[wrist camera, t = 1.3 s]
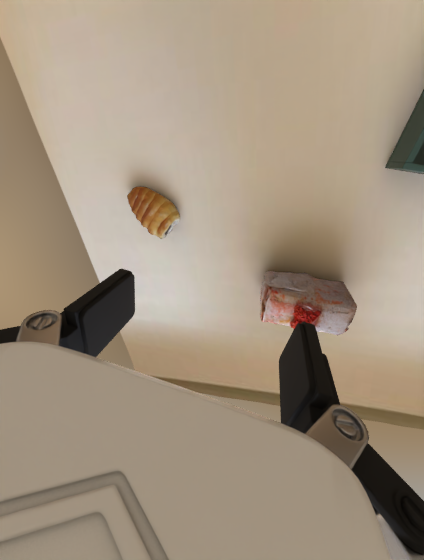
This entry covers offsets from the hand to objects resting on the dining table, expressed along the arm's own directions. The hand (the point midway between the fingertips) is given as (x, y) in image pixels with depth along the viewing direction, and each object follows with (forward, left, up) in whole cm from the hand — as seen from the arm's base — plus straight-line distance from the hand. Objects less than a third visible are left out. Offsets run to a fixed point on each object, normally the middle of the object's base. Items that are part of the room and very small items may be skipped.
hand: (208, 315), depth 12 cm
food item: (+11, +12, -28) cm, 32 cm away
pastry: (+3, -16, -28) cm, 32 cm away
